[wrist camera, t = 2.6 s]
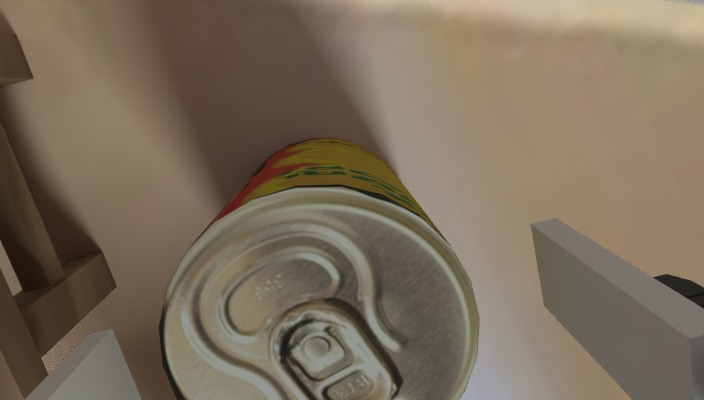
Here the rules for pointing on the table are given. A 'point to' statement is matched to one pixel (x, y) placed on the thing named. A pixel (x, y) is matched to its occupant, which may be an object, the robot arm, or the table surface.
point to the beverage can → (320, 290)
